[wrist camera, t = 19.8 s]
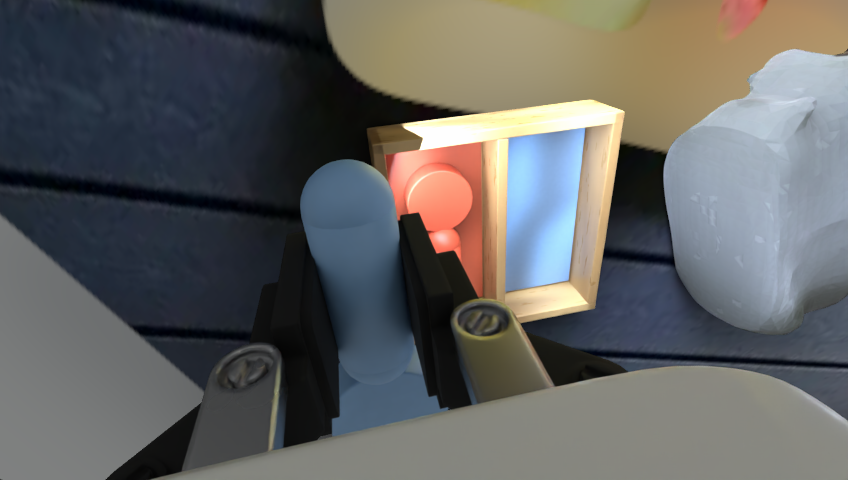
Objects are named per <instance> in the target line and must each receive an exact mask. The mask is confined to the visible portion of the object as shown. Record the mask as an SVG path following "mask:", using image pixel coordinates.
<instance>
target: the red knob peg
mask: <svg viewBox="0 0 848 480" xmlns="http://www.w3.org/2000/svg"><path fill="white" fill-rule="evenodd" d="M472 199H473V196H472V190H471V187H470V185H469V183H468V182H467V181H466V179H465V178H464V177H463V175H462V174H461V173H460V172H459V171H458V170H457V169H456V168H454V167H453V166H451V165H448V164H444V163H432V164H428V165H425V166H423V167H421V168H420V169H418V170H417V171H416V172H414V173H413V174H412V176H411V177H410V178H409V180H408V182H407V183H406V186H405V190H404V202H405V205H406V208H407V210H408V213H409V214H410V213H416V212H419V213H420V216H421V218H422V220H423V223H424V225H425V228H426V230H427V231H428V235H429V237H430V239H431V242H432V244H433V246H434V249H435V251H436V253H441V252H446V251H452V250H454V251H455V252H456V254H457V256H458V258H459V260H460V262H461V242H460V237H459V235H458V233H457V232H456V230H454V229H453V228H454V227H456V226H457V225H459V224H460V223H461V222H462V221H463V220H464V219H465V218H466V216H467V215H468V213H469V211H470V209H471V206H472Z"/></svg>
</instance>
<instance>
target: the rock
mask: <svg viewBox="0 0 848 480" xmlns="http://www.w3.org/2000/svg"><path fill="white" fill-rule="evenodd" d="M747 81H748V82H749V84H750V93H749V94H748V96H746V97H745V98H743V99H737V100H732V101H729V102H726V103H725V104H723V105H722V106H720V107H719V108H717V109H716V110H715V111H713V112H712V113H711V114H709V115H708V116H706V117H705V118H704V119H703V120H702V121H700V122H699V123H697V124H696V125H694V126H693V127H691V128H690V129H689V130H687V131H686V132H685V133H684V134H682V135H680V136H679V137H677V139H676V140H675V141H674V142H673V144H672V145H671V147H670V149H669V151H668V154H667V157H666V160H665V164H664V173H663V174H664V193H665V201H666V207H667V212H668V218H669V223H670V229H671V235H672V243H673V252H674V259H675V266H676V270H677V272H678V275H679V277H680V279H681V280H682V282H683V284H684V285H685V287H686V288H687V290H688V291H689V293H690V294H691V296H692V297H693V298H694V299H695V301H696V302H697V303H698V304H699V305H701V306H702V307H703V308H704V309H705V310H707V311H708V312H709V313H711V314H712V315H714V316H716V317H717V318H719V319H721V320H723V321H725V322H727V323H729V324H731V325H732V326H735V327H738V328H741V329H743V330H747V331H751V332H755V333H762V334H768V335H785V334H788V333H790V332H792V331H794V330H795V329H797V328H799V326H800V325H801V323H802V321H803V318H804V314H806V313H808V312H811V311H814V310H818V309H822V308H826V307H828V306H831V305H834V304H836V303H838V302H839V301H841V300H842V299H843V298H845V297H846V296H847V295H848V49H847V50H846V51H845V53H842V54H837V55H826V54H820V53H813V52H807V51H802V50H799V49H791V50H788V51H784V52H782V53H779V54H777V55H775V56H774V57H773V58H771V59H770V60H769V61H768V62H767V63H766V65H765V66H764V68H763V69H761V70H759V71H758V72H756V73H754V74H752V75H751V76H749V78H748V79H747Z"/></svg>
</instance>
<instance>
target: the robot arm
mask: <svg viewBox="0 0 848 480" xmlns="http://www.w3.org/2000/svg"><path fill="white" fill-rule="evenodd" d="M398 227H399V234H400V240H399V242H400V249H401V256H402V263H403V270H404V277H405V284H406V291H407V299H408V306H409V313H410V320H411V327H412V333H413V337H414V341H415V345H416V349H417V353H418V357H419V361H420V365H421V369H422V373H423V377H424V381H425V385H426V389H427V393H428V396H429V397H432V396H437V400H438V403H439V407H440V409H442V408H447V407H448V408H450V409H452V410H448V411H444V412H439V413H435V414H430V415H426V416H422V417H417V418H413V419H408V420H404V421H400V422H395V423H391V424H386V425H382V426H378V427H373V428H369V429H364V430H360V431H356V432H351V433H347V434H343V435H338V436H334V437H330V438H325V439H321V440H317V439H318V438H319V437H320V436H323V435H328V434H332V419H334V418H338V417H340V399H339V359H338V347H337V344H336V340H335V336H334V332H333V328H332V325H331V321H330V317H329V313H328V309H327V305H326V302H325V298H324V294H323V290H322V286H321V283H320V279H319V275H318V271H317V267H316V264H315V260H314V258H313V256H312V254H311V251H310V247H309V244H308V240H307V236H306V232H305V231H304V232H298V233H293V234H287V237H286V243H285V248H284V254H283V259H282V265H281V270H280V276H279V281H278V282H277V283H271V284H266V285H264V286H263V288H262V292H261V296H260V300H259V305H258V309H257V313H256V317H255V322H254V326H253V330H252V334H251V339H250V343H249V344H247V345H243V346H240V347H238V348H236V349H234V350H232V351H230V352H229V353H227V354H226V355H225V356H224V357H222V358H221V359H220V360H219V361H218V362H217V363H216V365H215V366H214V367H213V369H212V371H211V373H210V375H209V379H208V382H207V386H206V389H205V392H204V396H203V399H202V403H200V404H199V405H198V406H197V407H195V408H194V409H193V410H192V411H190V412H189V413H188V414H187V415H185V416H184V417H183V418H181V419H180V420H179V421H178V422H176V423H175V424H174V425H173V426H171V427H170V428H169V429H167V430H166V431H165V432H164V433H162V434H161V435H160V436H159V437H157V438H156V439H155V440H154V441H152V442H151V443H150V444H148V445H147V446H146V447H145V448H143V449H142V450H141V451H140V452H138V453H137V454H136V455H135V456H134V457H132V458H131V459H129V460H128V461H127V462H126V463H124V464H123V465H122V466H121V467H119V468H118V469H117V470H116V471H114V472H113V473H112V474H111V475H110V476H109V477H108V478H107V479H106V480H848V421H847V420H846V419H845V418H843V417H842V416H840V415H839V414H838V413H836V412H835V411H834V410H832V409H831V408H829V407H828V406H826V405H825V404H823V403H822V402H820V401H819V400H817V399H816V398H814V397H812V396H811V395H809V394H807V393H806V392H804V391H802V390H801V389H799V388H797V387H795V386H793V385H791V384H789V383H787V382H785V381H782V380H779V379H777V378H774V377H771V376H768V375H764V374H760V373H756V372H752V371H746V370H741V369H735V368H725V367H714V366H670V367H661V368H651V369H643V370H638V371H632V372H628V371H626V370H625V369H624V368H622V367H621V366H620V365H617V364H615V363H613V362H611V361H609V360H606V359H603V358H600V357H597V356H594V355H591V354H588V353H586V352H583V351H580V350H577V349H574V348H571V347H568V346H565V345H562V344H560V343H557V342H554V341H551V340H548V339H545V338H542V337H539V336H536V335H533V334H531V333H528V332H525V331H524V330H523V328H522V326H521V324H520V323H519V321H518V319H517V317H516V315H515V314H514V312H513V311H512V310H511V309H510V307H508V306H507V305H505V304H504V303H502V302H499V301H496V300H493V299H485V298H482V299H479V297H478V295H477V293H476V291H475V289H474V287H473V285H472V283H471V281H470V279H469V277H468V275H467V273H466V271H465V270H464V268H463V266H462V264H461V262H460V260H459V258H458V256H457V254H456V252H455V251H454V250H452V251H446V252H441V253H436V251H435V249H434V246H433V244H432V242H431V239H430V237H429V235H428V232H427V230H426V228H425V225H424V223H423V220H422V218H421V216H420V213H419V212H416V213H410V214H404V215H400V220H399V221H398Z"/></svg>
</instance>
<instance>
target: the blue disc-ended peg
mask: <svg viewBox="0 0 848 480" xmlns="http://www.w3.org/2000/svg"><path fill="white" fill-rule="evenodd" d="M300 209H301V217H302V221H303V225H304V228H305V232H306V236H307V240H308V244H309V247H310V251H311V254H312V256H313V258H314V260H315V264H316V267H317V271H318V275H319V279H320V283H321V286H322V290H323V294H324V298H325V302H326V305H327V309H328V313H329V317H330V321H331V325H332V328H333V332H334V336H335V340H336V344H337V347H338V357H339V360H340V363H339V399H340V417H338V418H334V419H332V435H333V437H334V436H338V435H343V434H347V433H351V432H356V431H360V430H364V429H369V428H373V427H378V426H382V425H386V424H391V423H395V422H400V421H404V420H408V419H413V418H417V417H422V416H426V415H430V414H435V413H439V412H444V411H448V407H447V408H442V409H440V407H439V403H438V400H437V396H432V397H429V396H428V393H427V389H426V385H425V381H424V377H423V373H422V369H421V365H420V361H419V357H418V353H417V349H416V345H414V337H413V333H412V327H411V320H410V313H409V306H408V299H407V291H406V284H405V277H404V270H403V263H402V256H401V249H400V242H399V240H400V234H399V227H398V220H397V213H396V206H395V199H394V195H393V191H392V189H391V187H390V185H389V183H388V181H387V180H386V179H385V177H384V176H383V175H382V174H381V173H380V172H379V171H378V170H376V169H375V168H374V167H372V166H370V165H368V164H366V163H364V162H360V161H356V160H349V159H346V160H338V161H333V162H330V163H328V164H326V165H324V166H322V167H321V168H319V169H318V170H317V171H316V172H315V173H314V174H313V175H312V176H311V177H310V178H309V179H308V181H307V183H306V185H305V186H304V189H303V192H302V195H301V202H300Z"/></svg>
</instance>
